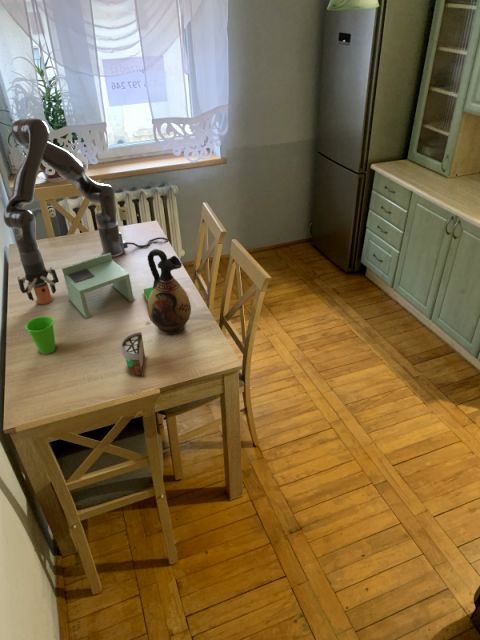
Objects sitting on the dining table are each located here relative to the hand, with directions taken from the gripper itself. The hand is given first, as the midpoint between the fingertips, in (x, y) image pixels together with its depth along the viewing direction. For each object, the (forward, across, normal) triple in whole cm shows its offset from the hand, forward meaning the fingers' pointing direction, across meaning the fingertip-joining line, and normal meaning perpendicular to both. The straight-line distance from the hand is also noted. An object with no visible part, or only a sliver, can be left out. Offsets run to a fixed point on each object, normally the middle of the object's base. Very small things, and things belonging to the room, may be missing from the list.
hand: (43, 296), depth 186 cm
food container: (+3, +9, -61) cm, 62 cm away
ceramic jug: (+2, +30, -48) cm, 57 cm away
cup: (+3, -10, -33) cm, 34 cm away
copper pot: (+2, 0, 0) cm, 2 cm away
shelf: (+2, +18, -15) cm, 24 cm away
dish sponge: (+2, +35, -29) cm, 46 cm away
